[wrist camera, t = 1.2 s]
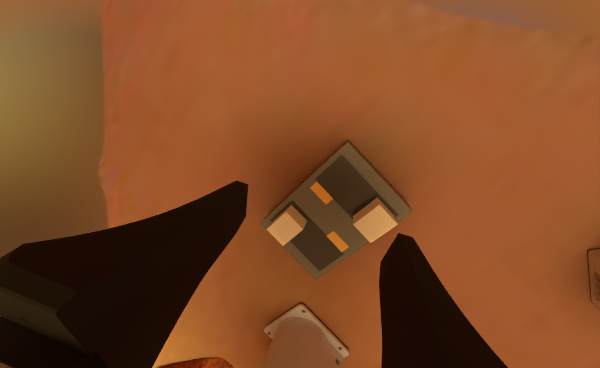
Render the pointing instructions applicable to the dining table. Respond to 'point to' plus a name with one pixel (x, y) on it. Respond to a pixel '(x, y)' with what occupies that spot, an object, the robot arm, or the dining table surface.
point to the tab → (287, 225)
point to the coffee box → (594, 275)
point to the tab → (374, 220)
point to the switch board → (335, 209)
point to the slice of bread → (203, 363)
